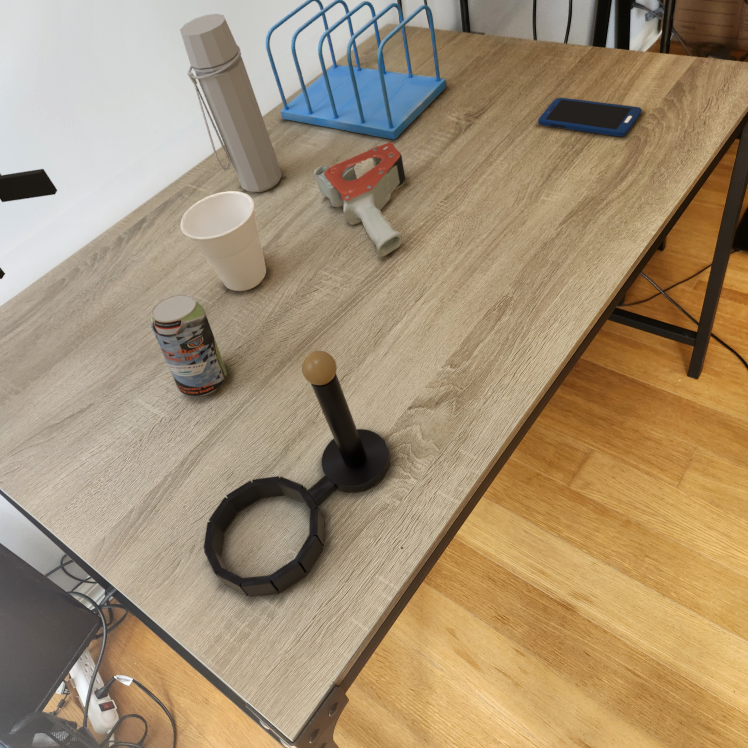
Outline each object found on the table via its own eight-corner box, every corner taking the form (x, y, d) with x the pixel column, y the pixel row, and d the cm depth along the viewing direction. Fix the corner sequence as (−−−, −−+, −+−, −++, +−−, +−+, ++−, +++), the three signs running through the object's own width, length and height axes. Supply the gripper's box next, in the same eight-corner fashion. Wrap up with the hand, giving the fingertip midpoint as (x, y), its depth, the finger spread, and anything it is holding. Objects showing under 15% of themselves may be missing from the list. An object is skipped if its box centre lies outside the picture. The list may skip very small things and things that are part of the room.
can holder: (192, 568, 63) (105, 479, 51) (299, 412, 73) (249, 305, 61) (301, 624, 58) (234, 539, 45) (401, 446, 68) (369, 337, 55)
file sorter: (282, 120, 119) (254, 34, 107) (336, 74, 127) (316, -11, 115) (395, 141, 107) (378, 46, 95) (447, 88, 115) (437, -5, 103)
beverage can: (173, 400, 78) (126, 333, 69) (199, 355, 83) (158, 286, 74) (218, 406, 76) (175, 337, 67) (243, 359, 81) (206, 288, 72)
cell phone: (624, 137, 95) (625, 133, 94) (536, 124, 102) (536, 120, 101) (643, 112, 98) (643, 107, 98) (556, 101, 105) (556, 96, 104)
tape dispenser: (395, 270, 88) (445, 176, 98) (389, 241, 84) (442, 146, 94) (285, 249, 95) (343, 163, 104) (274, 221, 90) (335, 134, 100)
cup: (256, 245, 96) (229, 181, 87) (293, 273, 90) (268, 207, 81) (200, 281, 93) (167, 219, 84) (234, 313, 87) (202, 249, 78)
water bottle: (271, 163, 110) (216, 7, 91) (292, 181, 105) (238, 20, 86) (223, 187, 108) (157, 33, 89) (242, 207, 103) (176, 48, 84)
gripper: (-70, 204, 80) (85, 181, 76) (-195, 356, 64) (-7, 336, 60) (-116, 150, 74) (49, 121, 70) (-266, 301, 58) (-63, 275, 54)
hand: (24, 220), depth 65 cm, fingers open, 13 cm apart
